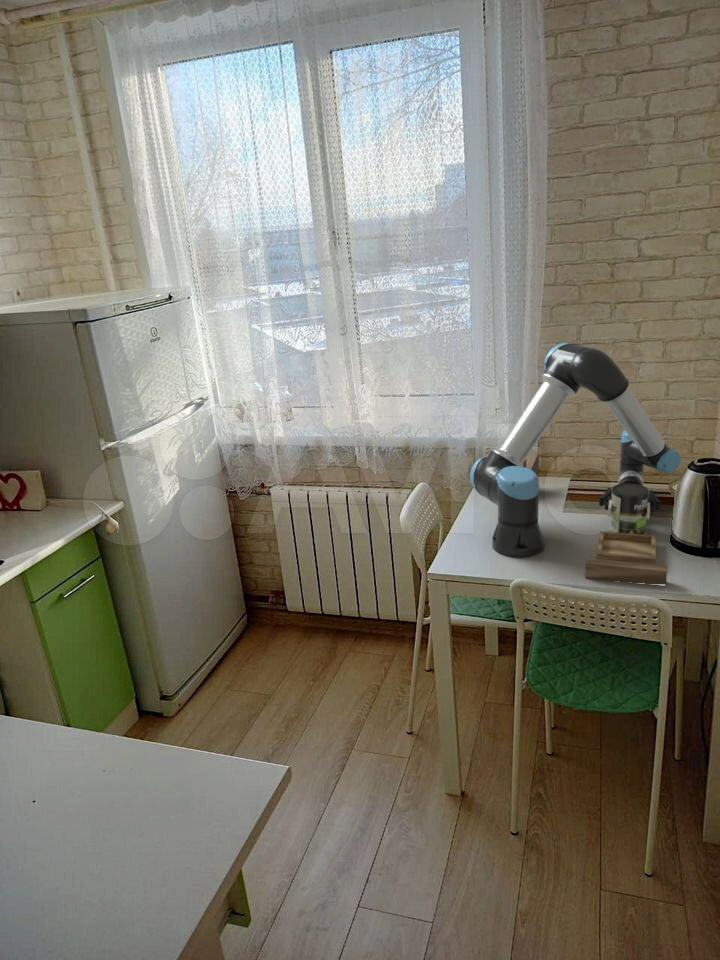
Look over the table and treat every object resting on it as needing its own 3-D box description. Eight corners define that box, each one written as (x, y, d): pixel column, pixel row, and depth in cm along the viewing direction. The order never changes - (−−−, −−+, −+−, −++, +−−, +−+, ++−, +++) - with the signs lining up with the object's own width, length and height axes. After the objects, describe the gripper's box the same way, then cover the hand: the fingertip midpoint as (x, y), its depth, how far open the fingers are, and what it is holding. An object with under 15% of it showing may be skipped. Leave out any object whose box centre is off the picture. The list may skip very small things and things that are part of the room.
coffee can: (652, 532, 215) (656, 489, 210) (632, 543, 209) (635, 498, 204) (623, 522, 222) (625, 480, 218) (602, 532, 217) (604, 489, 212)
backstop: (665, 588, 184) (667, 571, 182) (585, 579, 191) (585, 563, 190) (665, 582, 187) (666, 565, 185) (585, 574, 194) (586, 558, 192)
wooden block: (538, 490, 252) (539, 441, 246) (522, 499, 245) (522, 450, 239) (529, 488, 255) (530, 440, 248) (513, 497, 248) (513, 448, 241)
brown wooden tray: (654, 569, 193) (655, 559, 192) (596, 563, 198) (597, 553, 197) (654, 544, 206) (655, 535, 205) (600, 540, 211) (600, 531, 210)
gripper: (667, 499, 226) (669, 528, 207) (593, 494, 234) (588, 522, 215) (669, 477, 223) (671, 504, 204) (594, 473, 231) (588, 499, 212)
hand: (628, 513), depth 209 cm, fingers closed on coffee can, 10 cm apart
